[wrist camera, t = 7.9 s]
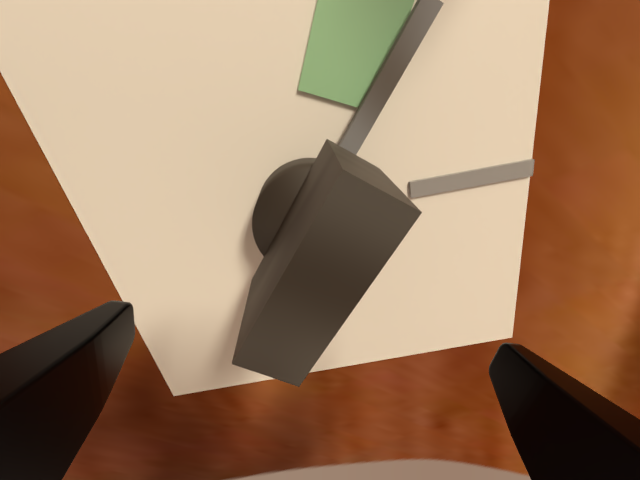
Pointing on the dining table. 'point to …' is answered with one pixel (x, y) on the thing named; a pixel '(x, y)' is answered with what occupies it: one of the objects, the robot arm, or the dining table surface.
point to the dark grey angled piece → (325, 233)
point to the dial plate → (282, 156)
